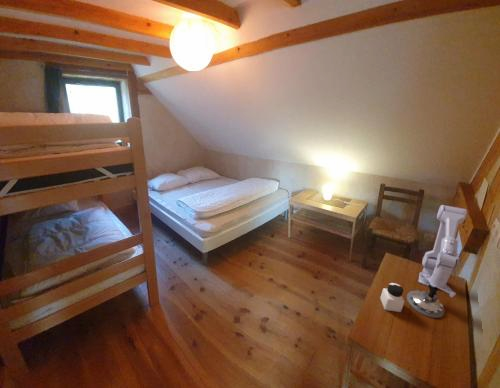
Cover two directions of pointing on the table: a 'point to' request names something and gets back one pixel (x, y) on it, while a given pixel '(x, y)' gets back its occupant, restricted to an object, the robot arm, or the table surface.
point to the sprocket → (426, 301)
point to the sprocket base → (422, 309)
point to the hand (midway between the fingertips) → (431, 296)
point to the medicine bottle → (392, 297)
